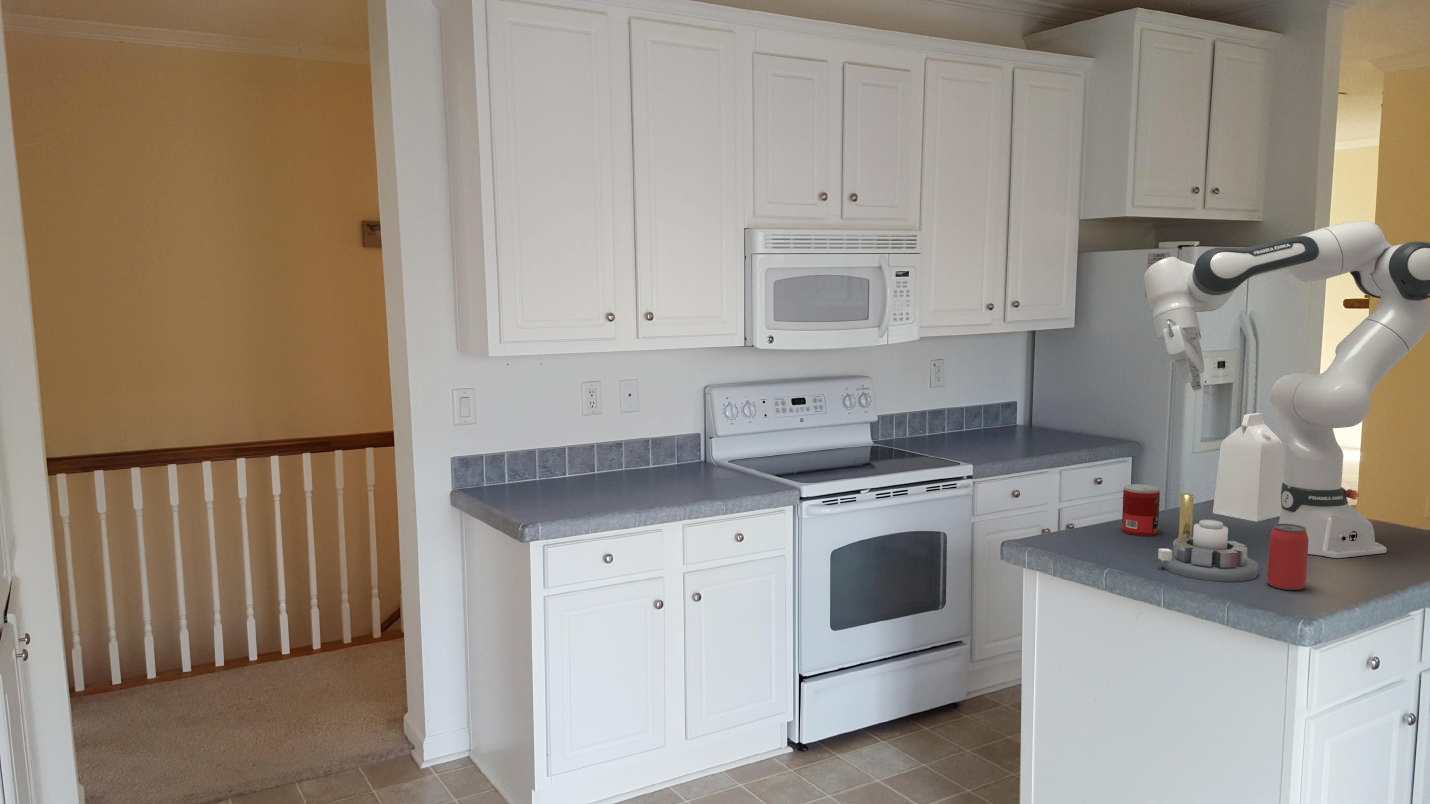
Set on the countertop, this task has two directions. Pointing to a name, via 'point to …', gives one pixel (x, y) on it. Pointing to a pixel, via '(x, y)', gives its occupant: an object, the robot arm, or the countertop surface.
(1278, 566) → the beer can
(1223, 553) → the gear with peg
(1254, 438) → the milk
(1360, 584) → the countertop surface
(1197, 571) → the flange base
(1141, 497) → the canned food
